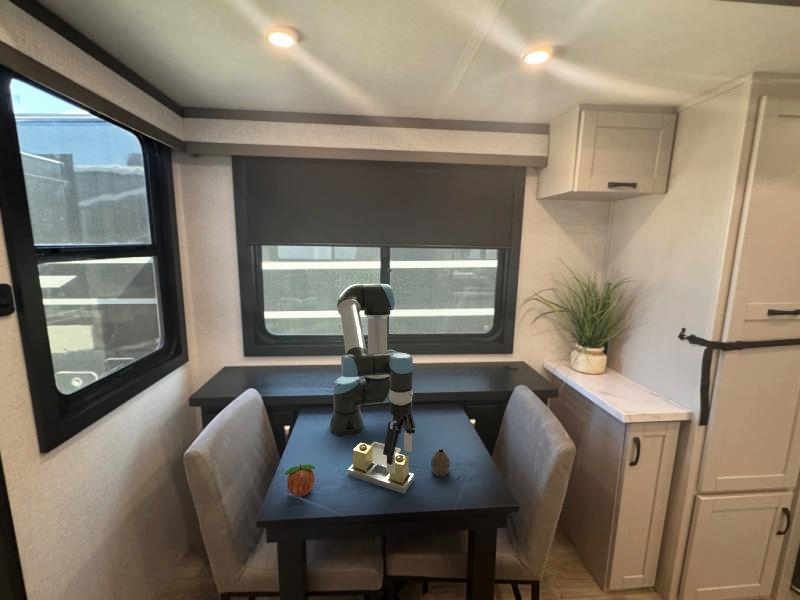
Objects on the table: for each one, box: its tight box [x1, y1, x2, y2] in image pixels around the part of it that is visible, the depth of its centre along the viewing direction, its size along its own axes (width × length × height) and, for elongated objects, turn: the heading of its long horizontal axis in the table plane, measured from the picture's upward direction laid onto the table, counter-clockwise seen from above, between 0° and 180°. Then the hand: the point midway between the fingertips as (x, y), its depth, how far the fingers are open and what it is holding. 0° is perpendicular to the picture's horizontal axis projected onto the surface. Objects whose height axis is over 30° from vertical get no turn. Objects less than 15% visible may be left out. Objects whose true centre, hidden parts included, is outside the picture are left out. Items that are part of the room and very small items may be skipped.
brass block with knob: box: [352, 442, 373, 473], centre depth 123 cm, size 5×5×10 cm
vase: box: [430, 448, 451, 477], centre depth 123 cm, size 7×7×9 cm
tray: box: [369, 441, 402, 466], centre depth 133 cm, size 12×12×2 cm
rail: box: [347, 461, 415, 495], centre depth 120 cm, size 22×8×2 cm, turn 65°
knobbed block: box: [389, 453, 410, 486], centre depth 117 cm, size 5×5×10 cm
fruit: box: [284, 464, 316, 498], centre depth 112 cm, size 9×10×10 cm
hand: (399, 460), depth 116 cm, fingers open, 13 cm apart
